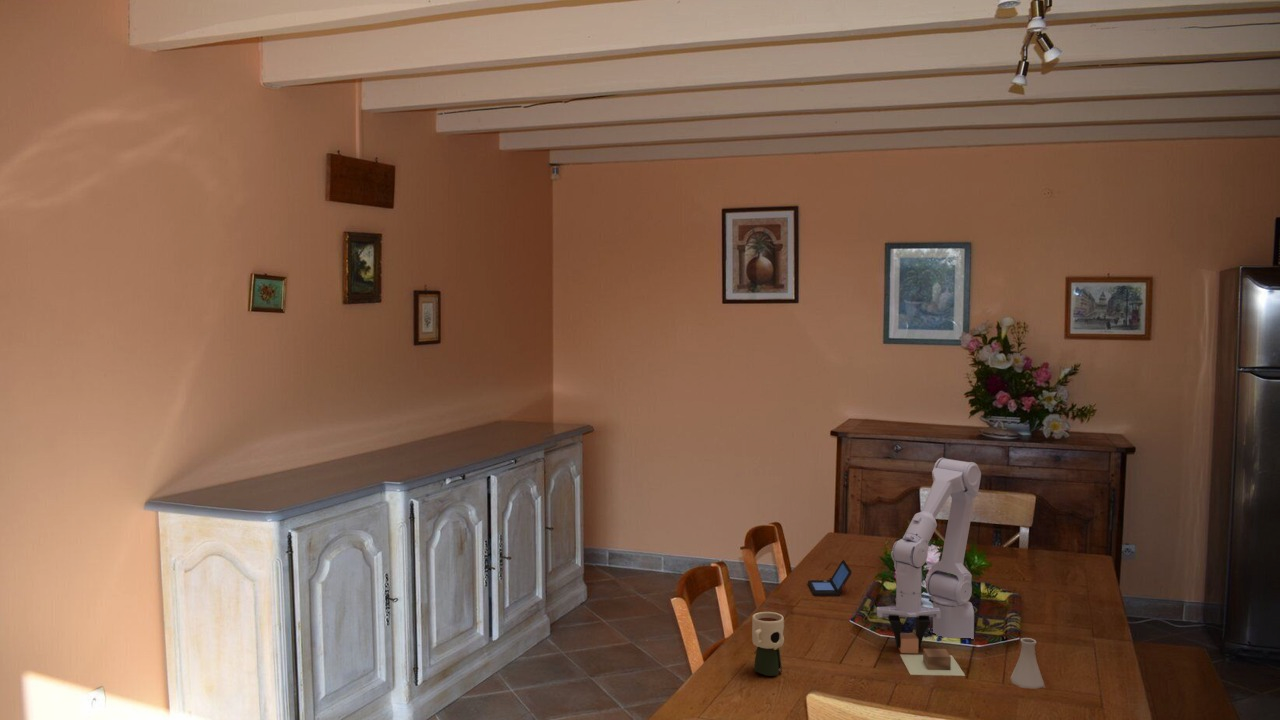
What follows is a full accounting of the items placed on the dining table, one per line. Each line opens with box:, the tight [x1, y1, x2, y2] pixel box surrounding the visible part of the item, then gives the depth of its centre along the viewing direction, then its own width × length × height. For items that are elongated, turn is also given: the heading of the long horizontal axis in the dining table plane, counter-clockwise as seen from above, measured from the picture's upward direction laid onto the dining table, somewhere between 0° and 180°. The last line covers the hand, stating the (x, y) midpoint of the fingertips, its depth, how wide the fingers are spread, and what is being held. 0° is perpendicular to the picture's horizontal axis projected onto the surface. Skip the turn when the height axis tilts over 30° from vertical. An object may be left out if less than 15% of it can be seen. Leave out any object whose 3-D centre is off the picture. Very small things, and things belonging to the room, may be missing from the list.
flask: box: [1010, 637, 1046, 690], centre depth 214 cm, size 7×7×10 cm
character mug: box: [751, 611, 785, 677], centre depth 221 cm, size 11×7×13 cm, turn 143°
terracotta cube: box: [898, 632, 919, 654], centre depth 233 cm, size 4×4×4 cm
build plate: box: [899, 653, 966, 677], centre depth 224 cm, size 12×12×1 cm
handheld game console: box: [807, 559, 852, 597], centre depth 282 cm, size 12×11×7 cm
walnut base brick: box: [922, 648, 951, 670], centre depth 223 cm, size 5×5×3 cm
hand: (908, 646), depth 233 cm, fingers closed on terracotta cube, 4 cm apart
